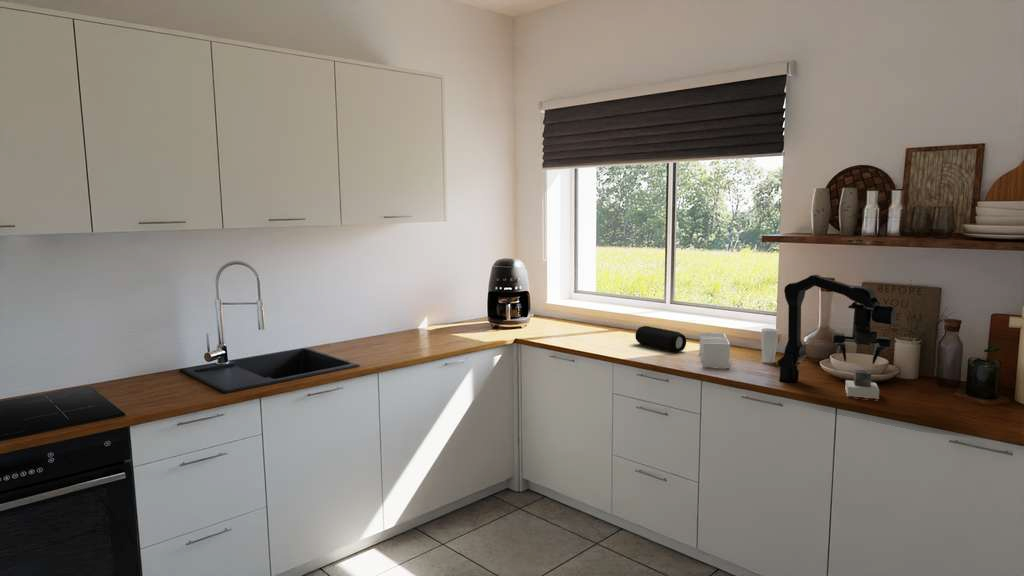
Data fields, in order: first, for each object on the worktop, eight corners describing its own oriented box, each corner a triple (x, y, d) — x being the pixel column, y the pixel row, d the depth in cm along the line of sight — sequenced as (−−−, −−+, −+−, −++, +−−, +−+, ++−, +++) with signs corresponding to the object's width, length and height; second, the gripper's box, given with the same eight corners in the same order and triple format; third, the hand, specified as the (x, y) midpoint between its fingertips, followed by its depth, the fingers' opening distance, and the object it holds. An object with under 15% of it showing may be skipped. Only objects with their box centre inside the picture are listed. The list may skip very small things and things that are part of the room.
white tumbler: (758, 363, 289) (760, 330, 287) (762, 360, 294) (763, 327, 292) (774, 365, 285) (776, 331, 283) (777, 361, 291) (779, 329, 289)
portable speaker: (687, 351, 312) (687, 331, 311) (673, 354, 306) (674, 334, 305) (647, 343, 333) (647, 324, 331) (633, 345, 327) (634, 326, 325)
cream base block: (847, 397, 236) (848, 386, 235) (845, 390, 245) (845, 380, 245) (878, 400, 232) (879, 389, 232) (875, 393, 241) (875, 382, 241)
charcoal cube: (855, 385, 237) (855, 372, 236) (853, 382, 241) (854, 369, 241) (870, 387, 235) (871, 373, 234) (868, 383, 239) (869, 370, 239)
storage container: (728, 369, 279) (729, 344, 277) (702, 367, 281) (703, 343, 280) (723, 356, 303) (724, 333, 302) (699, 355, 305) (700, 332, 304)
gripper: (835, 323, 233) (832, 365, 235) (894, 327, 226) (890, 370, 228) (833, 318, 244) (830, 358, 246) (890, 321, 236) (886, 363, 238)
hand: (858, 362), depth 239 cm, fingers open, 9 cm apart
